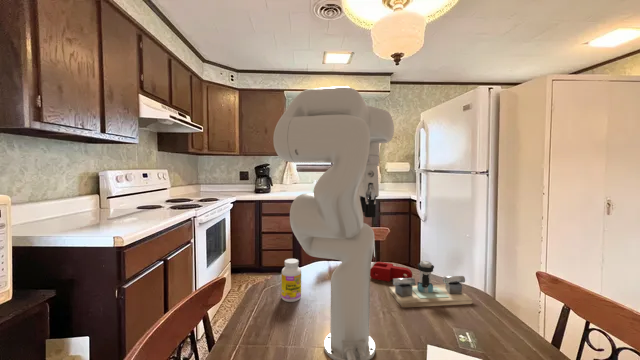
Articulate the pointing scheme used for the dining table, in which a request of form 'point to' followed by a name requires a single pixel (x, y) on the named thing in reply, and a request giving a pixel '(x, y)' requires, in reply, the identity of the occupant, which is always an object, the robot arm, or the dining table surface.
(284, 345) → the dining table surface
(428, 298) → the board
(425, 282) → the push button
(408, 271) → the mechanical linkage
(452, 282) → the cylinder and cube
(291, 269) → the supplement bottle
